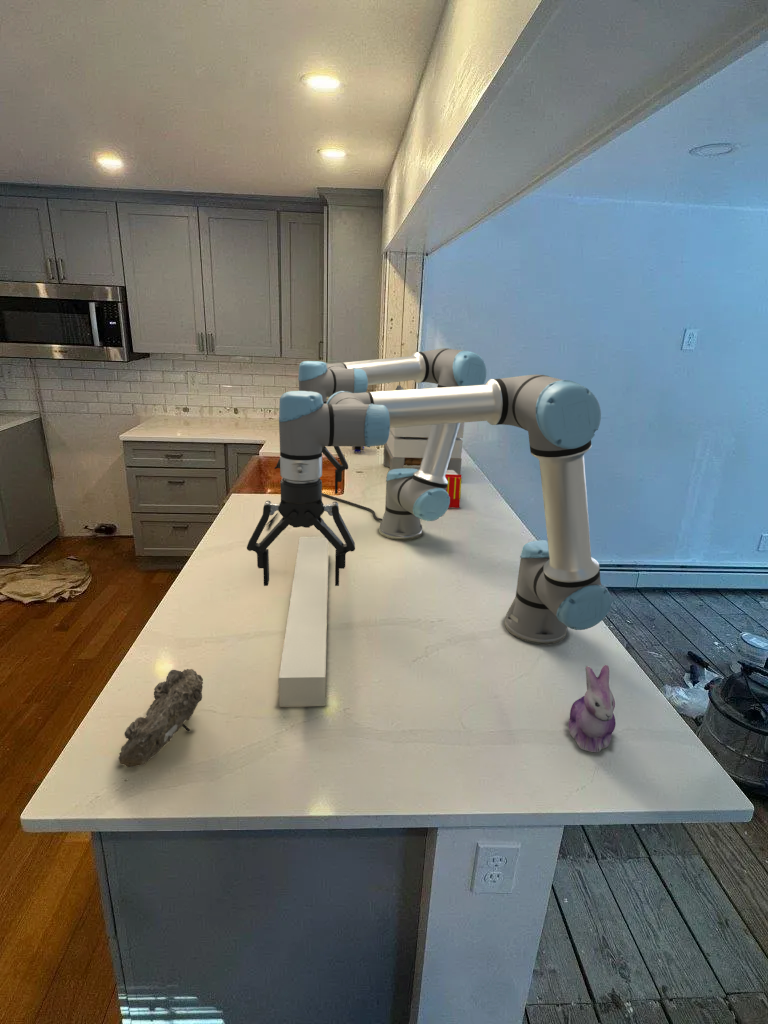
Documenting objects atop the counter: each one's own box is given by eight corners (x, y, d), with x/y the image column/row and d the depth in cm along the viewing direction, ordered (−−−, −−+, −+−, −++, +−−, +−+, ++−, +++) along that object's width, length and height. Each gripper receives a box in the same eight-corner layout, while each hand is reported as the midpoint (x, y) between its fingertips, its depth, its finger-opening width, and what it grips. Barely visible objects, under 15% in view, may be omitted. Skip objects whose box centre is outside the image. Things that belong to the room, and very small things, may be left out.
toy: (454, 466, 253) (465, 475, 223) (452, 495, 255) (463, 509, 226) (427, 465, 252) (435, 474, 223) (425, 494, 255) (433, 508, 226)
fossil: (153, 670, 114) (204, 637, 109) (187, 701, 117) (238, 670, 112) (92, 760, 94) (152, 726, 89) (135, 795, 97) (195, 763, 92)
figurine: (594, 762, 101) (608, 692, 96) (553, 726, 109) (565, 660, 104) (630, 746, 105) (646, 678, 100) (588, 712, 114) (601, 648, 109)
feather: (285, 507, 224) (287, 503, 224) (267, 531, 198) (270, 526, 197) (281, 504, 224) (284, 500, 223) (263, 528, 197) (265, 524, 197)
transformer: (382, 463, 289) (386, 382, 275) (445, 464, 293) (451, 384, 279) (390, 482, 257) (394, 392, 243) (460, 483, 261) (468, 394, 247)
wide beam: (299, 556, 178) (299, 536, 176) (328, 556, 179) (328, 536, 177) (279, 706, 112) (278, 677, 109) (325, 706, 112) (325, 677, 110)
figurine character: (364, 456, 305) (364, 447, 319) (364, 443, 302) (364, 434, 315) (351, 456, 305) (352, 446, 318) (351, 443, 302) (352, 434, 315)
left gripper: (265, 420, 152) (267, 495, 160) (358, 422, 155) (356, 496, 162) (268, 415, 159) (270, 487, 167) (357, 417, 162) (355, 488, 169)
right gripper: (227, 483, 99) (233, 591, 106) (370, 485, 101) (366, 591, 108) (234, 471, 106) (239, 573, 113) (368, 473, 108) (364, 574, 115)
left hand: (312, 492), depth 164 cm, fingers open, 13 cm apart
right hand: (302, 582), depth 110 cm, fingers open, 13 cm apart
